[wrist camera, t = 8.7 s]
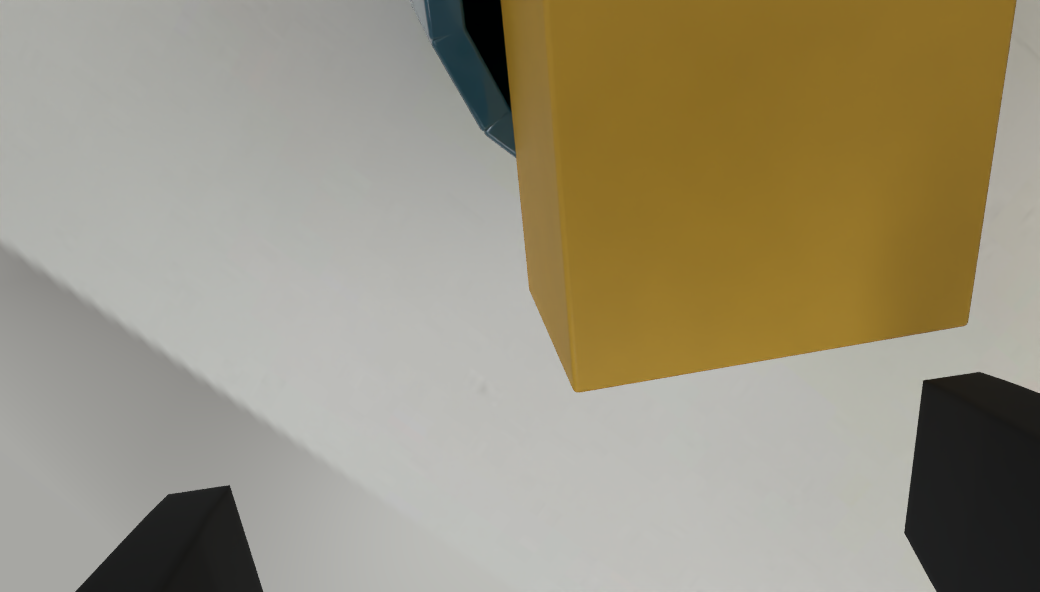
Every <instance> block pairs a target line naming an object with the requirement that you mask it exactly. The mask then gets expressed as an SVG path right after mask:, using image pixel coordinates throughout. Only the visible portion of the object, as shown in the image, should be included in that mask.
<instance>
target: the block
mask: <svg viewBox="0 0 1040 592" xmlns="http://www.w3.org/2000/svg"><path fill="white" fill-rule="evenodd" d="M1015 7H1016V0H501V8H502V19H503V29H504V39H505V49H506V59H507V69H508V79H509V89H510V99H511V110H512V120H513V130H514V140H515V150H516V160H517V170H518V180H519V190H520V200H521V211H522V221H523V231H524V241H525V251H526V261H527V271H528V281H529V290H530V292H531V295H532V297H533V299H534V301H535V304H536V306H537V308H538V310H539V313H540V315H541V317H542V320H543V322H544V324H545V326H546V329H547V331H548V333H549V336H550V338H551V340H552V342H553V345H554V347H555V349H556V351H557V354H558V356H559V358H560V361H561V363H562V365H563V367H564V370H565V372H566V374H567V377H568V379H569V381H570V383H571V386H572V388H573V390H574V391H575V392H585V391H590V390H596V389H602V388H608V387H614V386H619V385H625V384H631V383H637V382H643V381H648V380H654V379H660V378H666V377H671V376H677V375H683V374H689V373H695V372H700V371H706V370H712V369H718V368H724V367H729V366H735V365H741V364H747V363H753V362H758V361H764V360H770V359H776V358H782V357H787V356H793V355H799V354H805V353H811V352H816V351H822V350H828V349H834V348H840V347H845V346H851V345H857V344H863V343H868V342H874V341H880V340H886V339H892V338H897V337H903V336H909V335H915V334H921V333H926V332H932V331H938V330H944V329H950V328H955V327H961V326H965V325H967V323H968V319H969V312H970V305H971V299H972V292H973V285H974V279H975V272H976V266H977V259H978V252H979V246H980V239H981V232H982V226H983V219H984V213H985V206H986V199H987V193H988V186H989V179H990V173H991V166H992V160H993V153H994V146H995V140H996V133H997V126H998V120H999V113H1000V107H1001V100H1002V93H1003V87H1004V80H1005V73H1006V67H1007V60H1008V54H1009V47H1010V40H1011V34H1012V27H1013V20H1014V14H1015Z"/></svg>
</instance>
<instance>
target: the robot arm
mask: <svg viewBox="0 0 1040 592" xmlns="http://www.w3.org/2000/svg"><path fill="white" fill-rule="evenodd" d="M904 533H905V535H906V537H907V539H908V540H909V542H910V544H911V546H912V548H913V550H914V552H915V553H916V555H917V557H918V559H919V561H920V563H921V564H922V566H923V568H924V570H925V572H926V574H927V576H928V577H929V579H930V581H931V583H932V584H933V586H934V588H935V589H936V591H937V592H1040V393H1037V392H1035V391H1032V390H1029V389H1027V388H1024V387H1021V386H1019V385H1016V384H1013V383H1011V382H1008V381H1005V380H1002V379H999V378H996V377H993V376H990V375H987V374H984V373H981V372H977V373H970V374H963V375H957V376H950V377H943V378H937V379H930V380H924V381H923V387H922V395H921V403H920V411H919V419H918V427H917V435H916V443H915V451H914V459H913V467H912V475H911V483H910V491H909V499H908V507H907V515H906V523H905V532H904ZM76 592H263V590H262V587H261V583H260V580H259V577H258V574H257V571H256V567H255V564H254V561H253V558H252V555H251V552H250V548H249V545H248V542H247V539H246V536H245V532H244V529H243V526H242V523H241V520H240V516H239V513H238V510H237V507H236V504H235V501H234V497H233V495H232V491H231V488H230V485H229V486H221V487H215V488H208V489H202V490H195V491H188V492H182V493H175V494H168V495H167V496H166V497H165V498H164V499H163V500H162V501H161V502H160V503H159V504H158V505H157V506H156V507H155V508H154V509H153V510H152V511H151V512H150V513H149V514H148V515H147V516H146V517H145V518H144V519H143V520H142V521H141V522H140V523H139V525H137V526H136V528H135V529H134V530H133V531H132V532H131V533H130V534H129V535H128V536H127V537H126V538H125V539H124V540H123V541H122V543H120V545H119V546H118V547H117V548H116V549H115V550H114V551H113V552H112V553H111V554H110V555H109V556H108V557H107V559H106V560H105V561H104V562H103V563H102V564H101V565H100V566H99V567H98V568H97V569H96V570H95V571H94V572H93V573H92V575H91V576H90V577H89V578H88V579H87V580H86V581H85V582H84V583H83V584H82V585H81V586H80V587H79V588H78V589H77V590H76Z"/></svg>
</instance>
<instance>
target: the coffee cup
mask: <svg viewBox="0 0 1040 592" xmlns="http://www.w3.org/2000/svg"><path fill="white" fill-rule="evenodd" d="M410 2H411V5H412V8H413V10H414V11H415V13H416V15H417V17H418V19H419V21H420V23H421V25H422V27H423V29H424V31H425V33H426V35H427V37H428V39H429V41H430V43H431V45H432V46H433V48H434V50H435V52H436V53H437V55H438V57H439V59H440V60H441V62H442V64H443V65H444V67H445V69H446V71H447V72H448V74H449V76H450V78H451V79H452V81H453V83H454V84H455V86H456V88H457V90H458V91H459V93H460V95H461V96H462V98H463V100H464V102H465V103H466V105H467V107H468V109H469V110H470V112H471V114H472V115H473V117H474V119H475V121H476V122H477V124H478V126H479V128H480V129H481V130H482V131H484V133H485V134H486V136H487V137H489V138H490V139H491V140H493V141H494V142H495V143H497V144H498V145H499V146H501V147H502V148H503V149H505V150H506V151H507V152H509V153H510V154H511V155H513V156H514V157H515V158H516V150H515V140H514V130H513V120H512V110H511V99H510V89H509V79H508V69H507V59H506V49H505V39H504V29H503V19H502V8H501V0H410Z"/></svg>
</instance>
